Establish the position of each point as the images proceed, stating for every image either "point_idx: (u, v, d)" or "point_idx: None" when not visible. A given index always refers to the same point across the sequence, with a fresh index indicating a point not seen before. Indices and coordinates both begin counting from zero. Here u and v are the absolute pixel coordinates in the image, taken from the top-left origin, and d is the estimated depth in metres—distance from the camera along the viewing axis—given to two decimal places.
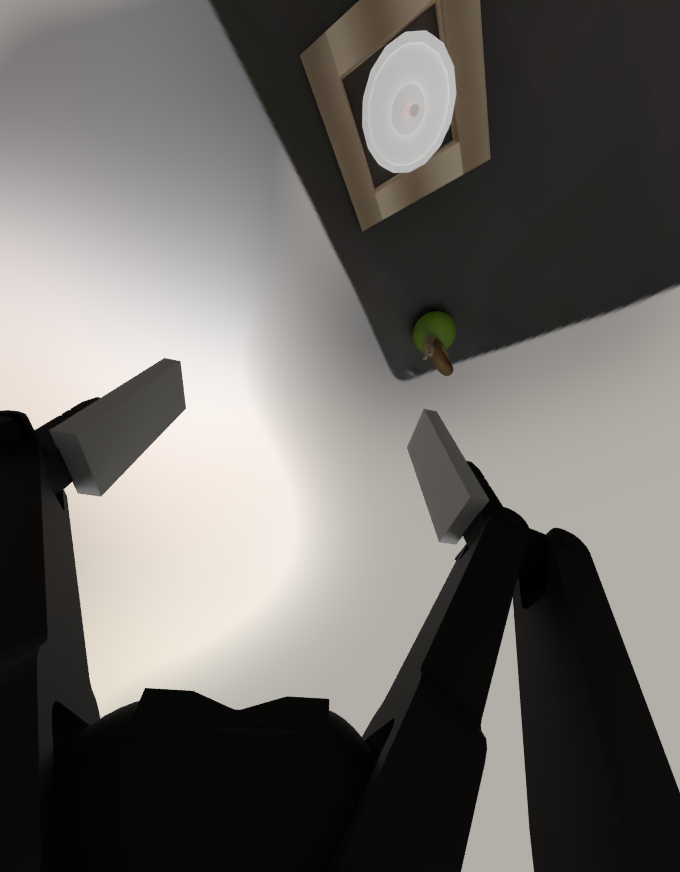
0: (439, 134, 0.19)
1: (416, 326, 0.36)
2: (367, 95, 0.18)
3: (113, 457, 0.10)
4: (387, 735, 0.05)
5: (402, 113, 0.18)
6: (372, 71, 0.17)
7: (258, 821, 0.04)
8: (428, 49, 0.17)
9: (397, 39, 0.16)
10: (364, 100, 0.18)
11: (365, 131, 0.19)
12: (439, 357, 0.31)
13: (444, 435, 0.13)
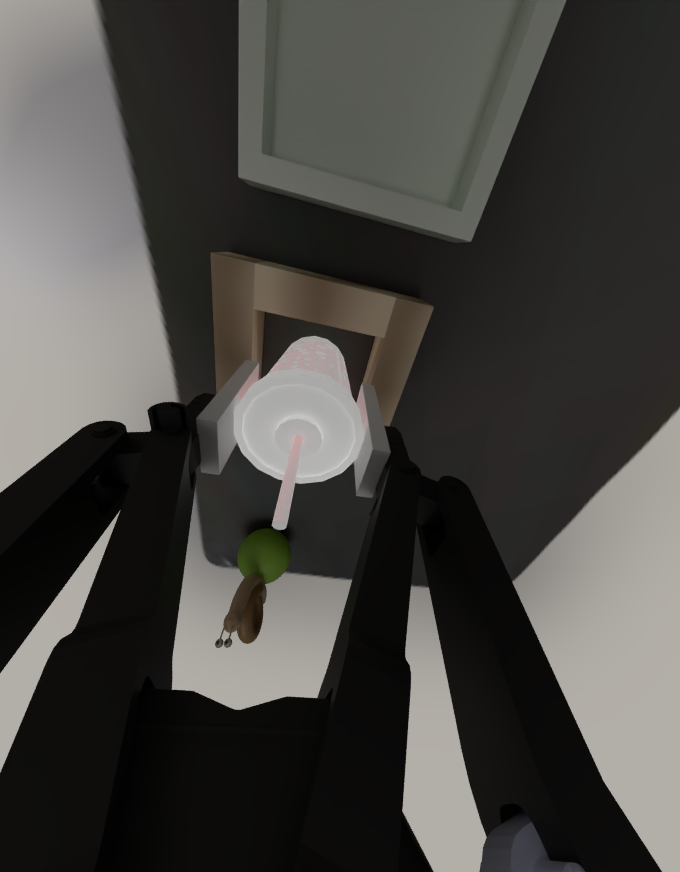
0: (325, 472, 0.14)
1: (247, 543, 0.28)
2: (254, 393, 0.12)
3: (226, 443, 0.12)
4: None
5: (290, 437, 0.13)
6: (270, 380, 0.11)
7: (258, 820, 0.04)
8: (344, 410, 0.12)
9: (313, 379, 0.11)
10: (247, 394, 0.12)
11: (236, 418, 0.12)
12: (244, 626, 0.23)
13: (372, 403, 0.14)
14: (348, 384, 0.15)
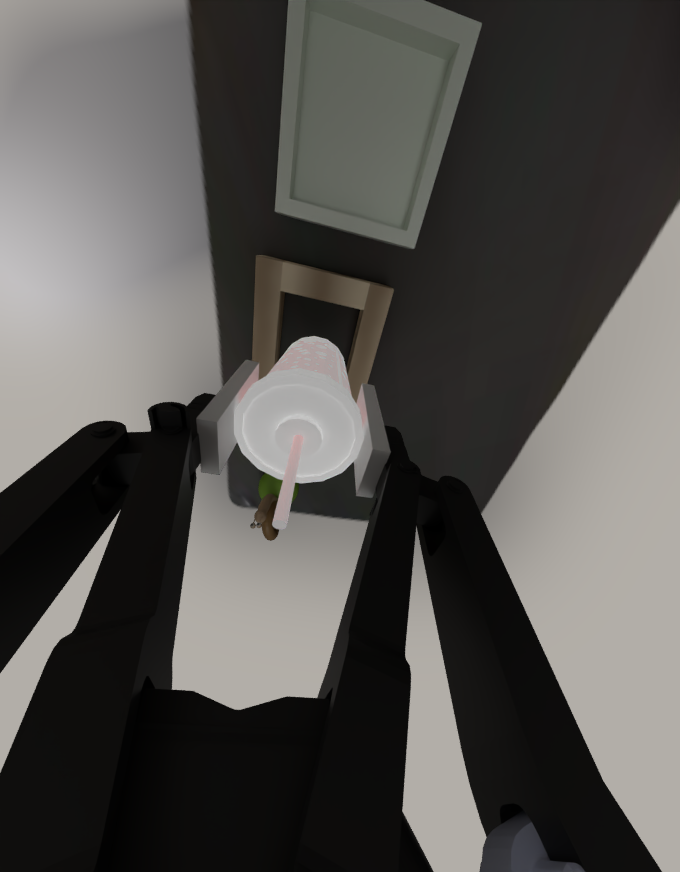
0: (325, 472, 0.14)
1: (266, 475, 0.36)
2: (254, 393, 0.12)
3: (227, 443, 0.12)
4: None
5: (290, 437, 0.13)
6: (270, 380, 0.11)
7: (258, 821, 0.04)
8: (344, 410, 0.12)
9: (313, 379, 0.11)
10: (248, 394, 0.12)
11: (236, 418, 0.12)
12: (267, 524, 0.31)
13: (372, 403, 0.14)
14: (348, 384, 0.15)
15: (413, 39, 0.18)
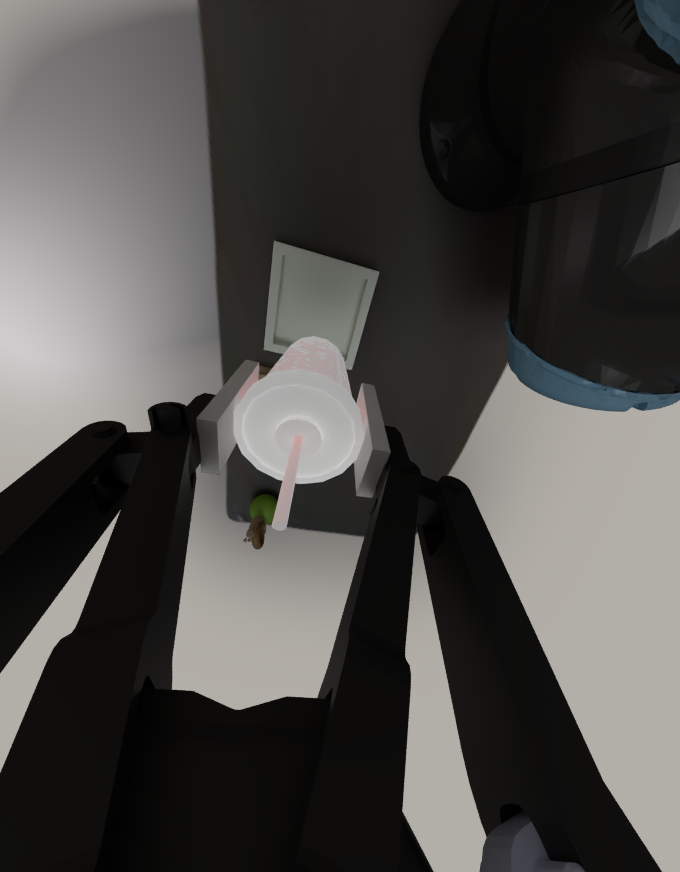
0: (325, 473, 0.14)
1: (255, 501, 0.50)
2: (253, 393, 0.12)
3: (227, 443, 0.12)
4: None
5: (290, 437, 0.13)
6: (270, 380, 0.11)
7: (258, 821, 0.04)
8: (344, 410, 0.12)
9: (313, 380, 0.11)
10: (247, 394, 0.12)
11: (236, 418, 0.12)
12: (255, 538, 0.45)
13: (372, 403, 0.14)
14: (348, 384, 0.15)
15: None
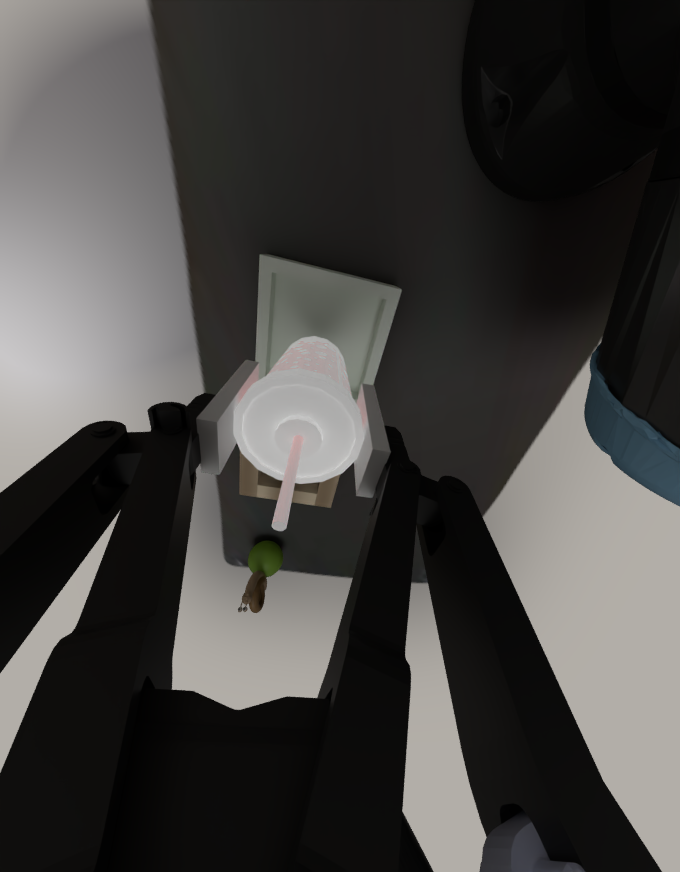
0: (325, 473, 0.14)
1: (254, 551, 0.43)
2: (253, 393, 0.12)
3: (227, 443, 0.12)
4: None
5: (290, 437, 0.13)
6: (270, 380, 0.11)
7: (258, 821, 0.04)
8: (344, 410, 0.12)
9: (313, 379, 0.11)
10: (247, 394, 0.12)
11: (236, 418, 0.12)
12: (253, 602, 0.38)
13: (372, 403, 0.14)
14: (348, 384, 0.15)
15: None
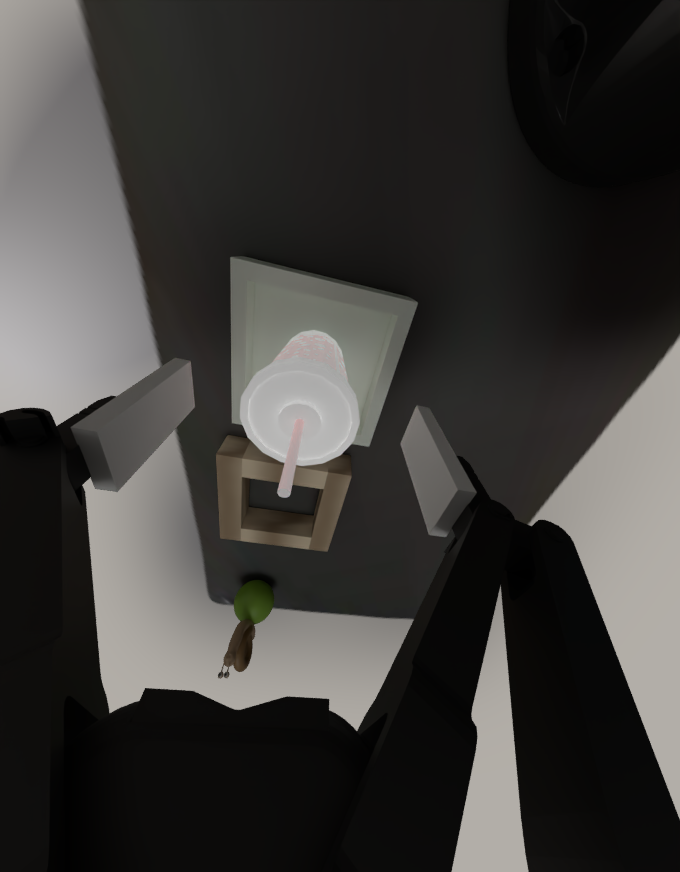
0: (325, 455, 0.15)
1: (241, 594, 0.37)
2: (258, 380, 0.13)
3: (129, 454, 0.10)
4: (381, 729, 0.05)
5: (292, 421, 0.14)
6: (273, 368, 0.12)
7: (258, 821, 0.04)
8: (341, 395, 0.13)
9: (313, 366, 0.12)
10: (253, 381, 0.13)
11: (242, 404, 0.13)
12: (238, 660, 0.32)
13: (435, 430, 0.13)
14: (345, 373, 0.16)
15: None
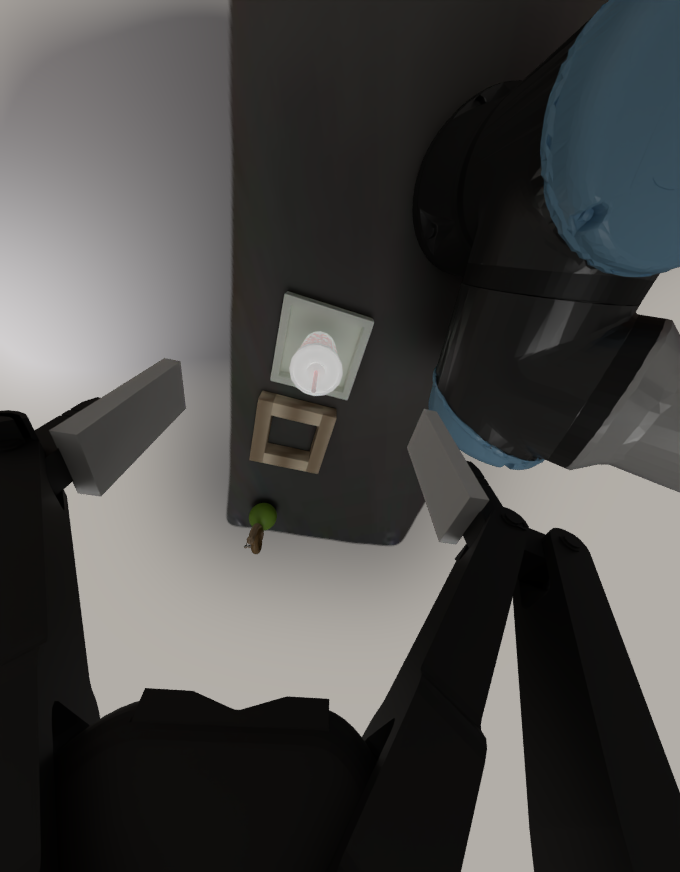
0: (325, 390, 0.33)
1: (254, 509, 0.54)
2: (300, 351, 0.30)
3: (113, 457, 0.10)
4: (387, 735, 0.05)
5: (312, 371, 0.31)
6: (307, 346, 0.30)
7: (258, 821, 0.04)
8: (335, 361, 0.31)
9: (324, 347, 0.30)
10: (298, 352, 0.30)
11: (291, 362, 0.31)
12: (254, 544, 0.49)
13: (444, 435, 0.13)
14: None
15: None
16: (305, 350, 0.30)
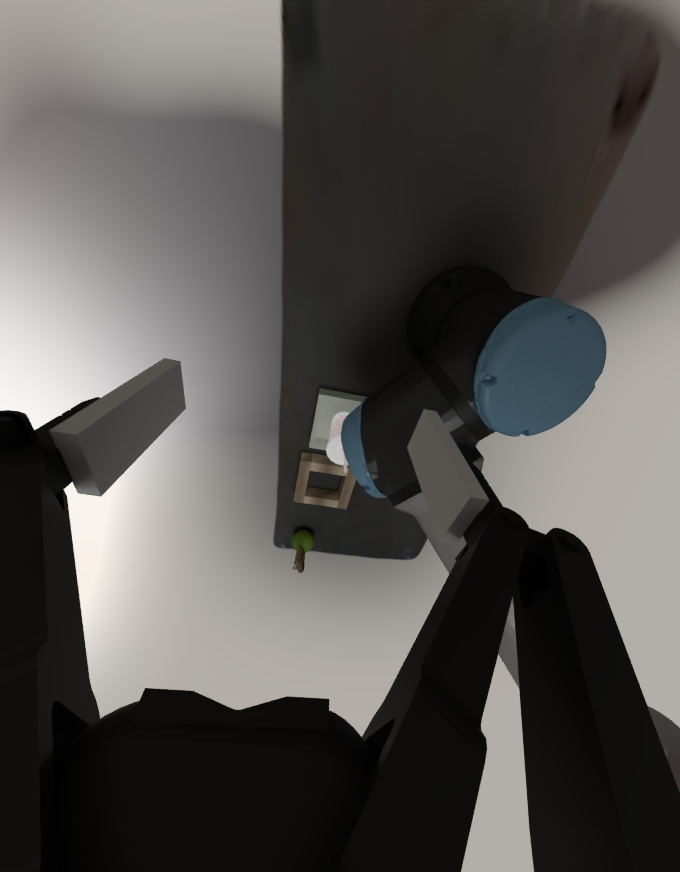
0: None
1: (297, 536, 0.68)
2: (333, 440, 0.43)
3: (113, 457, 0.10)
4: (387, 735, 0.05)
5: (342, 451, 0.44)
6: (338, 437, 0.43)
7: (258, 820, 0.04)
8: None
9: None
10: (332, 440, 0.43)
11: (327, 446, 0.44)
12: (300, 565, 0.63)
13: (444, 435, 0.13)
14: None
15: None
16: (337, 439, 0.43)
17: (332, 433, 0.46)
